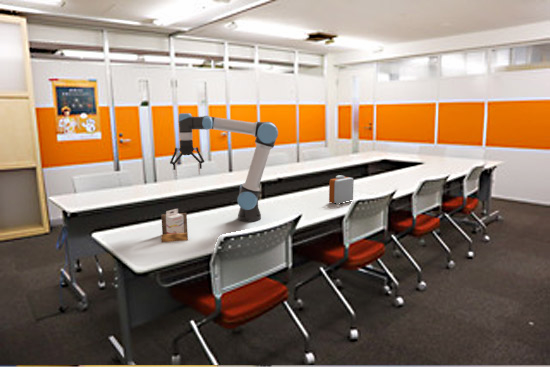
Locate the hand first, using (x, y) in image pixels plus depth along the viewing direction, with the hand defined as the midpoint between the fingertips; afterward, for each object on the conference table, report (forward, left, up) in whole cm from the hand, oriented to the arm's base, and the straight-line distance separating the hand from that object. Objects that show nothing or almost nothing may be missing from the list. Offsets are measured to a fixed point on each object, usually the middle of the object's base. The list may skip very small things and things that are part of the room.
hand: (187, 174), depth 237 cm
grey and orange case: (-113, -31, -32) cm, 121 cm away
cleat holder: (+9, +22, -32) cm, 40 cm away
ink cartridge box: (+9, +22, -31) cm, 39 cm away
